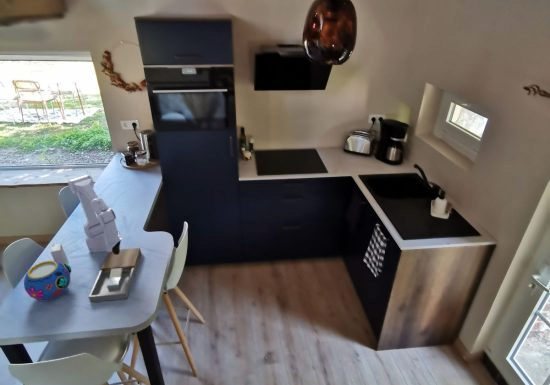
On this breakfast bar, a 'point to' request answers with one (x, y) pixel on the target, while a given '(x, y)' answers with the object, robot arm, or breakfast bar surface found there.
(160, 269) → the breakfast bar surface
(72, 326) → the breakfast bar surface
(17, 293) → the breakfast bar surface
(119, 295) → the bin
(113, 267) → the tan wooden board
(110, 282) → the blue grey tile
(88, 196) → the robot arm
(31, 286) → the ceramic pot
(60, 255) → the skincare box
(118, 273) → the cream tile
